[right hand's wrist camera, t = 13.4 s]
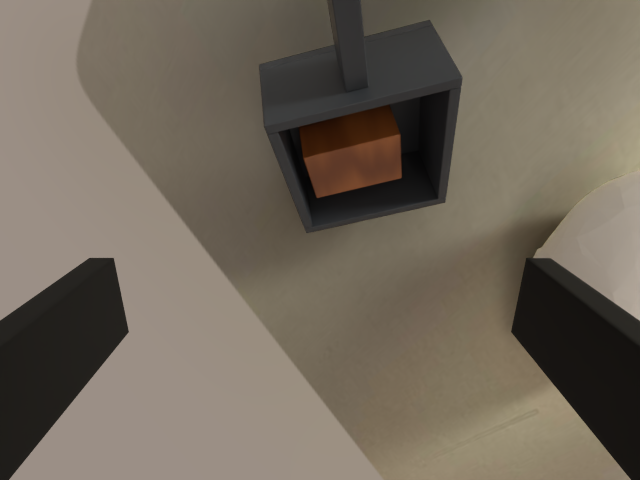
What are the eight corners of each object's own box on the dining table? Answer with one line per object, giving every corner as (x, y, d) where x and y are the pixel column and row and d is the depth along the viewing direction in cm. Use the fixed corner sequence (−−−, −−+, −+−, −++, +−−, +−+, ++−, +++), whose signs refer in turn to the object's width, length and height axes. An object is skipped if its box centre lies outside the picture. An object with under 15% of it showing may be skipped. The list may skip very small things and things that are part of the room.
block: (303, 158, 23) (400, 134, 23) (296, 115, 26) (385, 93, 25) (316, 198, 27) (402, 178, 26) (309, 158, 29) (388, 138, 28)
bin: (144, -261, 13) (118, -239, 10) (449, -365, 12) (526, -377, 9) (298, 177, 31) (306, 233, 28) (423, 148, 30) (445, 202, 27)
